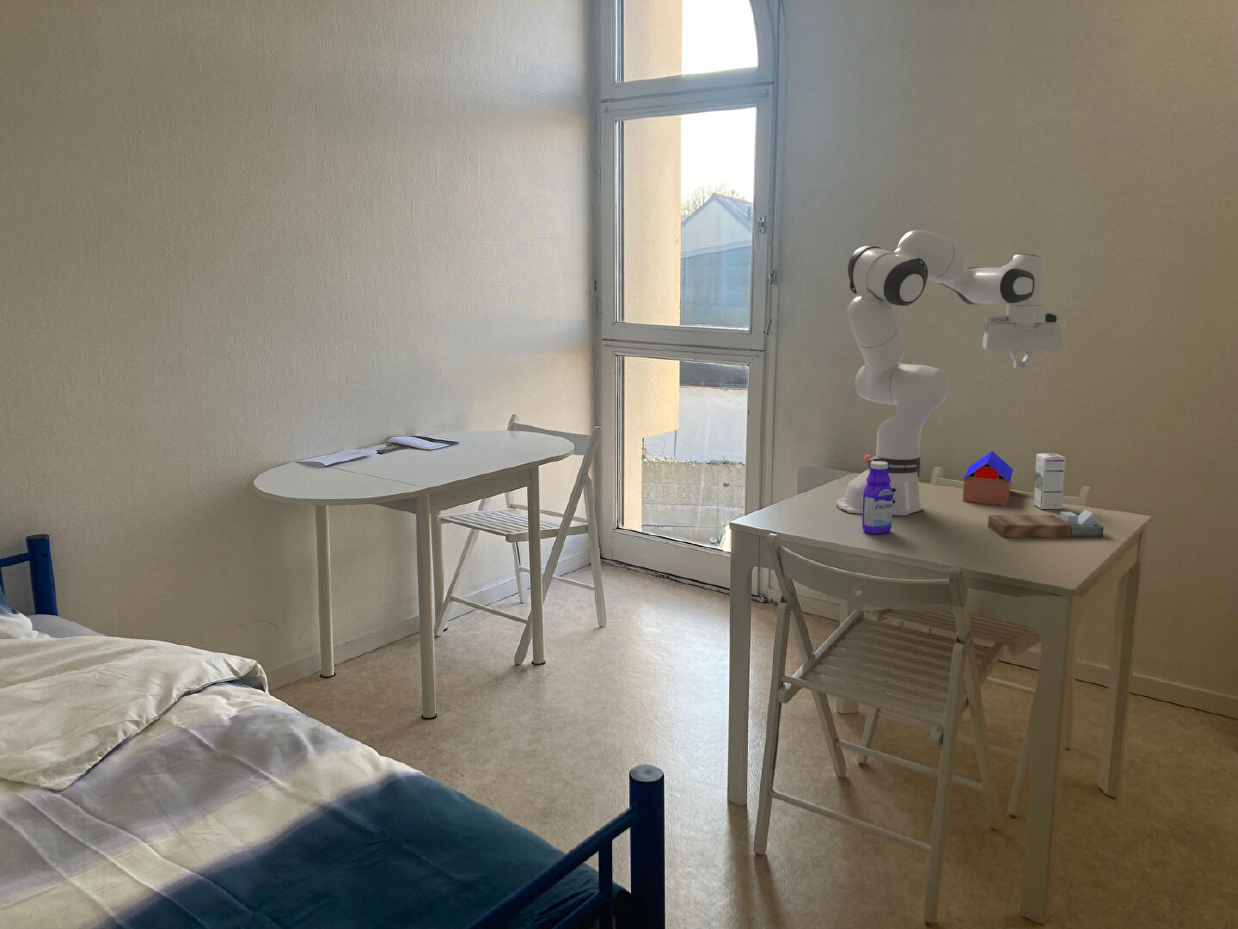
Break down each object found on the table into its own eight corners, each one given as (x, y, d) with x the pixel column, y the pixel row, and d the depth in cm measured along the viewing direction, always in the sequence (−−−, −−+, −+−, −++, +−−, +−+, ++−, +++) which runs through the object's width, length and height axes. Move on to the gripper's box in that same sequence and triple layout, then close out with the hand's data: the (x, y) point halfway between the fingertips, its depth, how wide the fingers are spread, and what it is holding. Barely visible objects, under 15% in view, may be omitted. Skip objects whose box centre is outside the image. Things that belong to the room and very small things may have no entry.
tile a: (1092, 513, 229) (1099, 519, 229) (1084, 509, 233) (1092, 515, 233) (1080, 525, 230) (1088, 531, 230) (1073, 521, 234) (1080, 527, 234)
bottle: (873, 536, 229) (876, 465, 226) (857, 531, 234) (860, 461, 231) (895, 532, 232) (899, 463, 229) (879, 527, 237) (882, 459, 234)
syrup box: (1062, 510, 254) (1067, 456, 251) (1040, 510, 254) (1044, 457, 251) (1053, 505, 259) (1057, 453, 257) (1031, 505, 259) (1035, 453, 257)
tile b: (1076, 531, 230) (1066, 531, 230) (1069, 527, 234) (1059, 527, 234) (1078, 515, 229) (1067, 515, 229) (1070, 511, 233) (1060, 511, 233)
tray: (1071, 537, 228) (1071, 527, 227) (1053, 526, 237) (1054, 517, 236) (1102, 537, 227) (1103, 527, 227) (1084, 526, 237) (1085, 517, 236)
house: (961, 502, 264) (964, 461, 262) (967, 487, 282) (970, 449, 280) (1007, 506, 259) (1010, 464, 257) (1011, 491, 277) (1014, 452, 275)
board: (1002, 537, 228) (1003, 525, 227) (987, 526, 238) (988, 515, 237) (1070, 537, 227) (1071, 525, 227) (1052, 526, 237) (1053, 515, 237)
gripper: (989, 316, 252) (985, 368, 254) (1066, 316, 251) (1062, 368, 254) (980, 315, 258) (977, 366, 261) (1056, 315, 258) (1052, 366, 260)
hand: (1019, 367), depth 257 cm, fingers closed
